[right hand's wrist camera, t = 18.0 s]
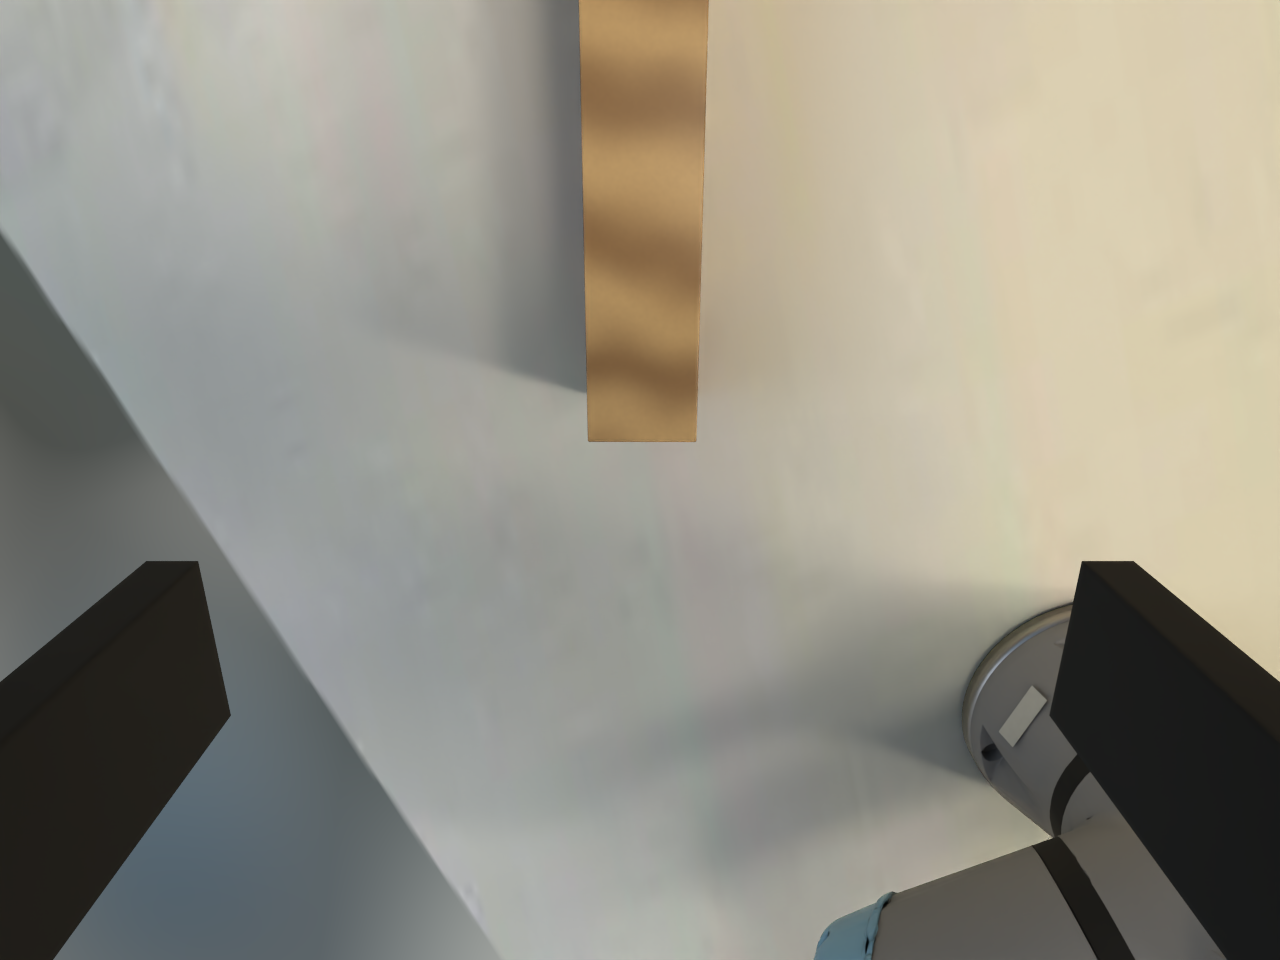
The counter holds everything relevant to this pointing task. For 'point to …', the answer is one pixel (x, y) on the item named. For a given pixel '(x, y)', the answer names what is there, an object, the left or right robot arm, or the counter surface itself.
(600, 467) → the counter surface
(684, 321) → the bar
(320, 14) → the counter surface
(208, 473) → the counter surface
